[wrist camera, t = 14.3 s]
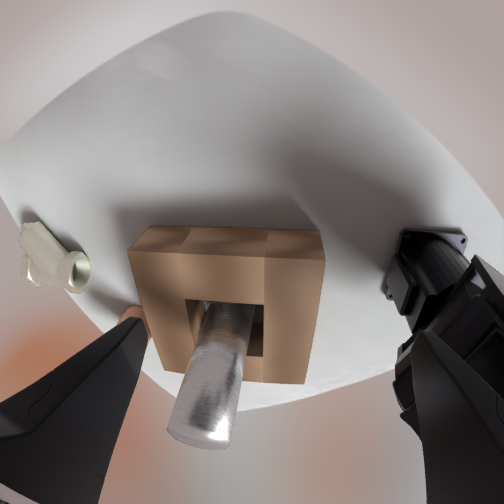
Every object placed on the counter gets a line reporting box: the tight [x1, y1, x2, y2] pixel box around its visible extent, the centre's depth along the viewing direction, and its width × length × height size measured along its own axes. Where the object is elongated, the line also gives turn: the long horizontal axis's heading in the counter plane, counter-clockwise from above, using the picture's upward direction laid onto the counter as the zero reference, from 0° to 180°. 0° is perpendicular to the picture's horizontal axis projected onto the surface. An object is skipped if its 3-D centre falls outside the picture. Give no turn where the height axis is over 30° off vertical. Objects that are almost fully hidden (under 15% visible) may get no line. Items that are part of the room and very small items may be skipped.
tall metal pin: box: [167, 301, 255, 450], centre depth 19 cm, size 4×4×13 cm
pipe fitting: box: [19, 221, 92, 294], centre depth 23 cm, size 8×4×7 cm
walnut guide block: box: [127, 226, 325, 384], centre depth 23 cm, size 13×13×4 cm
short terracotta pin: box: [117, 306, 152, 345], centre depth 25 cm, size 4×4×6 cm
